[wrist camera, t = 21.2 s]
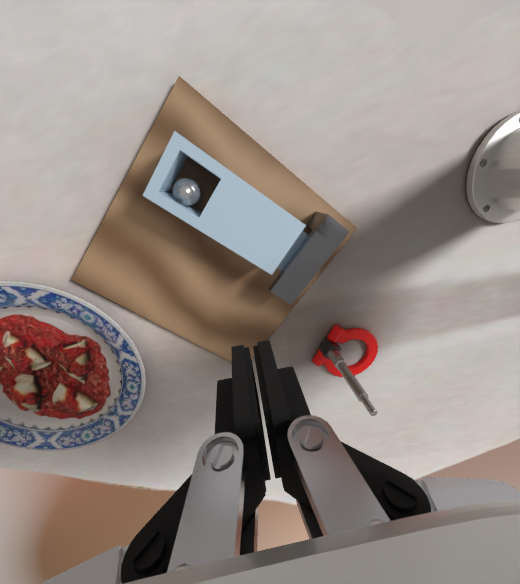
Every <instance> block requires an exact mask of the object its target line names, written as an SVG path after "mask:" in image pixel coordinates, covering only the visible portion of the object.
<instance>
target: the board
mask: <svg viewBox="0 0 520 584" xmlns="http://www.w3.org/2000/svg"><path fill="white" fill-rule="evenodd" d="M174 131H176V132H177V133H178V134H180V135H181V136H183V137H184V138H185V139H187V140H188V141H190V142H191V143H192V144H194V145H195V146H196V147H198V148H199V149H201V150H202V151H203V152H205V153H206V154H208V155H209V156H210V157H212V158H213V159H215V160H216V161H217V162H219V163H220V164H222V165H223V166H224V167H226V168H227V169H228V170H230V171H231V172H233V173H234V174H235V175H237V176H238V177H240V178H241V179H242V180H244V181H245V182H247V183H248V184H249V185H251V186H252V187H253V188H255V189H256V190H258V191H259V192H260V193H262V194H263V195H265V196H266V197H267V198H269V199H270V200H272V201H273V202H274V203H276V204H277V205H279V206H280V207H281V208H283V209H284V210H285V211H287V212H288V213H290V214H291V215H292V216H294V217H295V218H297V219H298V220H299V221H301V222H302V223H304V224H305V225H306V224H307V222H308V221H309V220H310V218H311V217H312V216H313V214H314V213H315V212H316V211H317V212H320V213H324V214H328V215H330V216H331V217H332V218H334V219H335V220H336V221H337V222H338V223H340V224H341V225H342V226H343V227H344V228H346V229H347V230H348V231H349V234H348V235H347V236H346V237H345V239H344V240H343V241H342V242H341V243H340V245H339V246H338V247H337V248H336V250H335V251H334V252H333V253H332V255H331V256H330V257H329V258H328V260H327V261H326V262H325V263H324V265H323V266H322V267H321V268H320V270H319V271H318V272H317V273H316V275H315V276H314V277H313V278H312V280H311V281H310V282H309V283H308V285H307V286H306V287H305V288H304V290H303V291H302V292H301V293H300V295H299V296H298V297H297V298H296V300H295V301H294V302H293V303H292V304H291V305H290V304H288V303H287V302H285V301H284V300H282V299H281V298H279V297H278V296H276V295H275V294H273V293H271V292H270V290H269V286H270V285H271V284H272V282H273V281H274V280H275V279H276V277H277V276H278V275H279V273H280V272H281V270H280V269H278V268H276V270H275V271H274V273H273V274H272V275H271V274H269V273H268V272H266V271H264V270H263V269H261V268H260V267H258V266H256V265H255V264H253V263H251V262H250V261H248V260H247V259H245V258H243V257H242V256H240V255H238V254H237V253H235V252H234V251H232V250H230V249H229V248H227V247H225V246H224V245H222V244H220V243H219V242H217V241H216V240H214V239H212V238H211V237H209V236H207V235H206V234H204V233H203V232H201V231H199V230H198V229H196V228H194V227H193V226H191V225H190V224H188V223H186V222H185V221H183V220H181V219H180V218H178V217H177V216H175V215H173V214H172V213H170V212H168V211H167V210H165V209H164V208H162V207H160V206H159V205H157V204H155V203H154V202H152V201H151V200H149V199H147V198H146V197H144V196H143V194H144V192H145V190H146V188H147V186H148V183H149V181H150V179H151V177H152V175H153V173H154V171H155V169H156V167H157V165H158V163H159V161H160V159H161V157H162V155H163V153H164V151H165V149H166V147H167V145H168V143H169V141H170V139H171V137H172V135H173V133H174ZM182 178H187V179H191V180H194V181H196V182H198V183H199V184H200V186H201V188H202V191H203V194H202V198H201V199H200V201H199V202H197V203H195V204H193V205H192V206H193V207H195V208H196V209H198V210H199V211H201V212H203V210H204V208H205V206H206V205H207V203H208V201H209V199H210V198H211V196H212V194H213V192H214V191H215V189H216V187H217V185H218V184H219V182H220V180H221V179H219V178H218V177H216V176H215V175H214V174H212V173H211V172H209V171H208V170H206V169H205V168H204V167H202V166H201V165H199V164H198V163H196V162H195V161H194V160H192V159H191V158H189V157H188V158H187V160H186V162H185V164H184V166H183V167H182V169H181V171H180V173H179V175H178V177H177V179H176V181H178V180H179V179H182ZM176 181H175V182H176ZM174 184H175V183H174ZM173 186H174V185H173ZM170 192H171V193H173V187H172V189H171V190H170ZM356 229H357V228H356V227H355V226H354V225H353V224H351V223H350V222H349V221H348V220H347V219H346V218H344V217H343V216H342V215H341V214H340V213H339V212H337V211H336V210H335V209H334V208H333V207H332V206H330V205H329V204H328V203H327V202H326V201H325V200H323V199H322V198H321V197H320V196H319V195H317V194H316V193H315V192H314V191H313V190H312V189H310V188H309V187H308V186H307V185H306V184H305V183H303V182H302V181H301V180H300V179H299V178H298V177H296V176H295V175H294V174H293V173H292V172H291V171H289V170H288V169H287V168H286V167H285V166H284V165H282V164H281V163H280V162H279V161H278V160H277V159H275V158H274V157H273V156H272V155H271V154H270V153H268V152H267V151H266V150H265V149H264V148H263V147H261V146H260V145H259V144H258V143H257V142H256V141H254V140H253V139H252V138H251V137H250V136H249V135H247V134H246V133H245V132H244V131H243V130H242V129H240V128H239V127H238V126H237V125H236V124H235V123H233V122H232V121H231V120H230V119H229V118H228V117H226V116H225V115H224V114H223V113H222V112H221V111H219V110H218V109H217V108H216V107H215V106H214V105H212V104H211V103H210V102H209V101H208V100H207V99H205V98H204V97H203V96H202V95H201V94H200V93H198V92H197V91H196V90H195V89H194V88H193V87H191V86H190V85H189V84H188V83H187V82H186V81H184V80H183V79H182V78H181V77H180V76H179V77H178V79H177V81H176V83H175V85H174V87H173V89H172V90H171V92H170V94H169V96H168V98H167V100H166V102H165V104H164V106H163V108H162V109H161V111H160V113H159V115H158V117H157V119H156V121H155V123H154V125H153V126H152V128H151V130H150V132H149V134H148V136H147V138H146V140H145V142H144V144H143V145H142V147H141V149H140V151H139V153H138V155H137V157H136V159H135V161H134V162H133V164H132V166H131V168H130V170H129V172H128V174H127V176H126V178H125V180H124V181H123V183H122V185H121V187H120V189H119V191H118V193H117V195H116V197H115V198H114V200H113V202H112V204H111V206H110V208H109V210H108V212H107V214H106V216H105V217H104V219H103V221H102V223H101V225H100V227H99V229H98V231H97V233H96V234H95V236H94V238H93V240H92V242H91V244H90V246H89V248H88V250H87V252H86V253H85V255H84V257H83V259H82V261H81V263H80V265H79V267H78V269H77V270H76V272H75V274H74V276H73V278H72V281H74V282H76V283H78V284H80V285H82V286H84V287H86V288H88V289H90V290H92V291H94V292H96V293H98V294H100V295H102V296H104V297H106V298H107V299H109V300H111V301H113V302H115V303H117V304H119V305H121V306H123V307H125V308H127V309H129V310H131V311H133V312H135V313H137V314H139V315H141V316H143V317H144V318H146V319H148V320H150V321H152V322H154V323H156V324H158V325H160V326H162V327H164V328H166V329H168V330H170V331H172V332H174V333H176V334H178V335H180V336H181V337H183V338H185V339H187V340H189V341H191V342H193V343H195V344H197V345H199V346H201V347H203V348H205V349H207V350H209V351H211V352H213V353H215V354H217V355H218V356H220V357H222V358H224V359H226V360H228V361H230V362H232V350H231V347H233V346H238V345H244V348H246V347H249V349H250V355H251V359H252V358H253V357H254V350H253V346H257V342H260V341H266V340H267V339H268V338H269V337H270V336H271V334H272V333H273V332H274V331H275V329H276V328H277V327H278V326H279V325H280V323H281V322H282V321H283V320H284V318H285V317H286V316H287V315H288V313H289V312H290V311H291V310H292V308H293V307H294V306H295V305H296V303H297V302H298V301H299V300H300V299H301V297H302V296H303V295H304V294H305V292H306V291H307V290H308V289H309V287H310V286H311V285H312V284H313V282H314V281H315V280H316V279H317V277H318V276H319V275H320V274H321V273H322V271H323V270H324V269H325V268H326V266H327V265H328V264H329V263H330V261H331V260H332V259H333V258H334V256H335V255H336V254H337V253H338V252H339V250H340V249H341V248H342V247H343V245H344V244H345V243H346V242H347V240H348V239H349V238H350V237H351V235H352V234H353V233H354V232H355V230H356ZM303 231H304V232H305V233H307V234H308V235H309V234H310V233H311V230H310V229H308V228H307V227H306V226H305V228H304V229H303Z"/></svg>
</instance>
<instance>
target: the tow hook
mask: <svg viewBox="0 0 520 584" xmlns="http://www.w3.org/2000/svg"><path fill="white" fill-rule="evenodd" d="M353 339H359V340H362V341H364V342H365V343H366V353H365V355H364V357H363V358H362V359H361V360H360V361H359V362H358V363H356V364H354V365H352V366H347V365H346V364H347V363H346V362H345V360H344V359H343V357H342V356H341V355H340V353H339V351H340V350H341V348H340V347H339V345H338V344H337V343H336V342H338V343H341V344H342V343H345V342H346V341H349V340H353ZM377 351H378V345H377V341H376V339H375V338H374V336H373V335H372V334H371V333H369V332H368V331H367V330H364V329H360V328H352V329H347V330H345V329H343V328H342V327H340V326H339V325H336V324H335V325H334V327H333V329H332V330H331V332H330V333H329V335H328V336H327V337H326V338H325V340H324V341H323V343H322V344H321V346H320V348H319V350H318V352H317V354H316V355H315V357H314V358H313V360H312V361H313V363H314V364H316V365H317V366H320V365H321V364H322V365H325V367H326V368H327V369H328V371H329V372H330V373H332V374H333V375H335V376H339V377H344V379H345V380H346V382H347V383H348V385H349V386H350V388H351V389H352V391H353V393H354V394H355V396H356V397H357V399H358V400H359V401H360V402H362V403H363V404H364V406H365V407H366V409H367V410H368V412H369V413H370V415H371V416H375V415H376V414H377V410H376V409H375V408H374V406H373V405H372V403H371V402H370V401H369V399H368V394H367V393H366V392H365V390H364V389H363V387H362V386H361V385H360V383H359V382H358V380H357V379H356V378H355V376H354V375H356V374H359V373H361V372H362V371H364V370H365V369H367V368H368V367H369V366H370V365H371V364H372V362H373V361H374V359H375V357H376V355H377Z"/></svg>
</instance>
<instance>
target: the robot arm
mask: <svg viewBox="0 0 520 584" xmlns="http://www.w3.org/2000/svg"><path fill="white" fill-rule="evenodd" d="M467 197H468V201H469V203H470V206H471V208H472V209H473V211H474V212H475V213H476V215H478V216H479V217H481V218H482V219H484V220H487V221H489V222H496V223H510V222H515V221H518V220H520V111H518V112H516V113H514V114H511V115H510V116H508V117H507V118H505V119H503V120H502V121H501V122H499V123H498V124H497V125H496V126H495V127H494V128H493V129H492V130H491V131H490V132H489V133H488V134H487V136H486V137H485V138H484V139H483V141H482V142H481V144H480V145H479V147H478V148H477V150H476V152H475V154H474V156H473V159H472V161H471V164H470V167H469V170H468V176H467ZM231 350H232V378H229V379H224V380H218V383H217V400H216V421H215V435H213V436H211V437H210V438H209V439H207V440H206V441H205V442H204V444H203V445H202V446H201V447H200V450H199V452H198V455H197V459H196V462H195V466H194V470H193V474H192V475H191V476H190V477H189V478H188V479H187V480H186V481H185V482H184V483H183V485H182V486H181V487H180V488H179V489H178V490H177V491H176V492H175V493H174V494H173V496H172V497H171V498H170V499H169V500H168V501H167V502H166V503H165V504H164V505H163V506H162V508H161V509H160V510H159V511H158V512H157V513H156V514H155V515H154V516H153V518H151V520H150V521H149V522H148V523H147V524H146V525H145V526H144V527H143V528H142V529H141V531H140V532H139V533H138V534H137V535H136V536H135V538H134V539H133V541H132V542H131V543H130V544H129V545H127V546H125V547H123V548H122V547H121V546H120V545H118V546H116V547H114V548H112V549H110V550H108V551H106V552H104V553H102V554H100V555H98V556H96V557H94V558H92V559H89V560H88V561H85V562H83V563H81V564H79V565H77V566H75V567H73V568H71V569H69V570H67V571H65V572H63V573H61V574H59V575H57V576H55V577H53V578H51V579H49V580H47V581H45V582H43V583H41V584H520V491H519V490H518V489H516V488H515V487H513V486H511V485H509V484H506V483H504V482H501V481H496V480H489V479H462V478H437V477H423V479H422V481H418V480H413V479H412V478H410V477H409V476H407V475H405V474H404V473H402V472H400V471H398V470H396V469H394V468H392V467H390V466H388V465H386V464H384V463H382V462H380V461H378V460H376V459H374V458H372V457H370V456H368V455H366V454H364V453H362V452H360V451H358V450H356V449H354V448H352V447H350V446H348V445H347V444H345V443H343V442H341V441H340V440H339V439H338V437H337V435H336V434H335V432H334V431H333V429H332V427H331V426H330V425H329V424H328V423H327V422H326V421H325V420H323V419H322V418H320V417H317V416H312V415H311V414H310V412H309V409H308V406H307V403H306V401H305V398H304V395H303V393H302V390H301V387H300V385H299V382H298V379H297V377H296V374H295V371H294V369H293V367H286V368H281V369H277V366H276V362H275V359H274V355H273V352H272V348H271V345H270V341H269V340H266V341H260V342H257V346H253V350H254V356H255V362H256V368H257V374H258V380H259V386H260V392H261V398H262V404H263V410H264V416H265V422H266V428H267V433H268V439H269V445H270V450H271V456H272V462H273V467H274V473H275V478H280V477H281V478H282V483H283V488H284V491H285V492H287V493H288V494H290V495H291V496H292V497H294V498H295V499H296V501H297V506H298V508H299V511H300V514H301V517H302V519H303V522H304V525H305V527H306V530H307V533H308V535H309V540H305V541H301V542H296V543H292V544H288V545H283V546H279V547H275V548H271V549H266V550H262V551H258V552H257V536H258V506H259V504H260V503H261V501H262V499H263V498H264V496H265V492H266V486H265V481H266V480H271V479H270V472H269V465H268V459H267V452H266V445H265V439H264V432H263V425H262V419H261V412H260V406H259V399H258V393H257V388H256V382H255V377H254V371H253V366H252V360H251V355H250V349H249V347H246V348H244V345H238V346H233V347H231Z"/></svg>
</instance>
